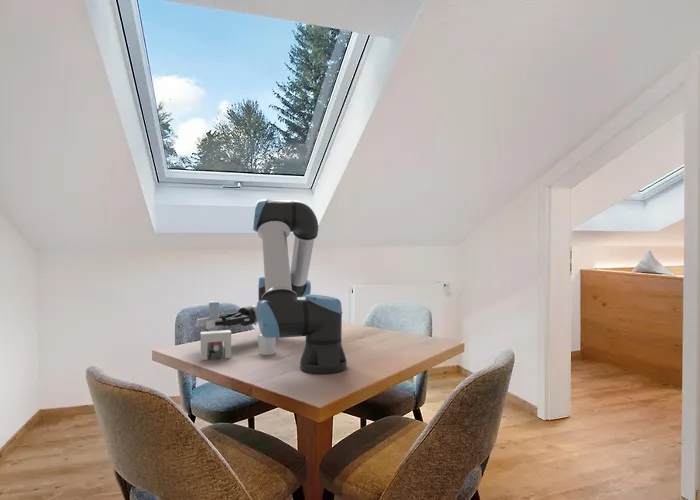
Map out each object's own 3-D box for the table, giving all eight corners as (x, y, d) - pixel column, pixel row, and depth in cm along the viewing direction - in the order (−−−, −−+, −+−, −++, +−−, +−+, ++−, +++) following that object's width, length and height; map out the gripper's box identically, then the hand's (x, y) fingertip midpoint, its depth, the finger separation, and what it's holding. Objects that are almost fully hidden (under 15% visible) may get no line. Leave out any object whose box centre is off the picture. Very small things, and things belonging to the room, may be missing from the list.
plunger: (221, 354, 147) (221, 345, 147) (211, 355, 146) (211, 345, 146) (220, 348, 156) (220, 339, 155) (210, 349, 154) (210, 340, 154)
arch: (231, 357, 152) (231, 332, 152) (200, 360, 149) (201, 334, 148) (230, 355, 156) (230, 330, 156) (200, 357, 152) (200, 331, 152)
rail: (220, 358, 151) (220, 352, 151) (211, 359, 150) (211, 353, 150) (216, 343, 173) (216, 338, 173) (208, 344, 172) (208, 339, 172)
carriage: (222, 354, 156) (223, 304, 156) (207, 355, 154) (207, 305, 154) (220, 347, 166) (220, 300, 166) (206, 348, 164) (206, 301, 164)
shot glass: (253, 352, 159) (253, 333, 159) (269, 349, 164) (269, 331, 164) (264, 356, 155) (264, 336, 154) (280, 352, 159) (280, 333, 159)
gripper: (265, 327, 173) (217, 337, 154) (235, 322, 183) (186, 331, 164) (265, 308, 173) (217, 316, 154) (235, 304, 183) (187, 311, 164)
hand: (202, 324), depth 159 cm, fingers closed on carriage, 5 cm apart
